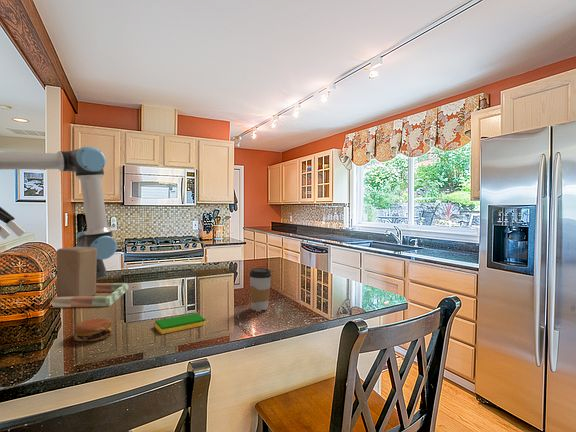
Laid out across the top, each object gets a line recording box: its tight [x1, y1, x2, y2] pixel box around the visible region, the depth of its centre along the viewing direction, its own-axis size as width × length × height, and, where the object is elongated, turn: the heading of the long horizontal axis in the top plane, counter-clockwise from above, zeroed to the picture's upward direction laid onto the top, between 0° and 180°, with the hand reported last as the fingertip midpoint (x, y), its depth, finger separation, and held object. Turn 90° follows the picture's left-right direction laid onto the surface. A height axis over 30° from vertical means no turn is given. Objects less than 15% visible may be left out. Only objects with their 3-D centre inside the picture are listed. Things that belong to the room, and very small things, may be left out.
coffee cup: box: [249, 267, 272, 312], centre depth 123 cm, size 8×8×15 cm
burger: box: [73, 318, 113, 342], centre depth 93 cm, size 10×9×5 cm
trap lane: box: [52, 282, 129, 308], centre depth 130 cm, size 24×20×3 cm
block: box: [55, 245, 97, 297], centre depth 129 cm, size 10×10×20 cm
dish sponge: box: [154, 313, 206, 335], centre depth 103 cm, size 7×14×2 cm, turn 128°
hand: (15, 235), depth 124 cm, fingers open, 8 cm apart
